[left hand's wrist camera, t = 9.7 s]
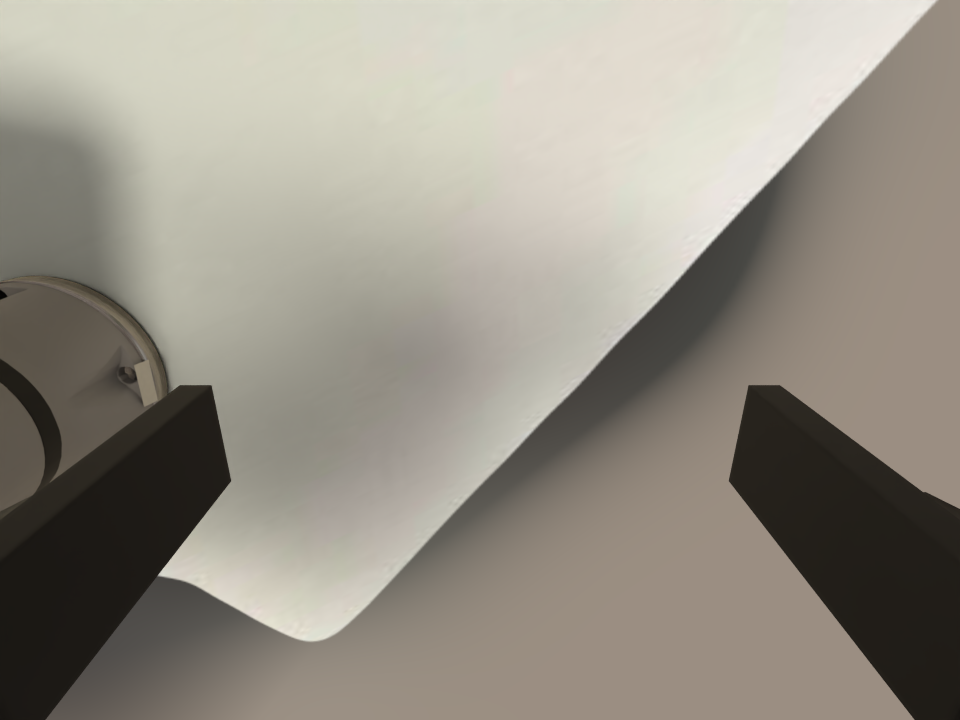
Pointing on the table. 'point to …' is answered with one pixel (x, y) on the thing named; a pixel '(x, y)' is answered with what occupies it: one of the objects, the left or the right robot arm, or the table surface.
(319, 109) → the table surface
